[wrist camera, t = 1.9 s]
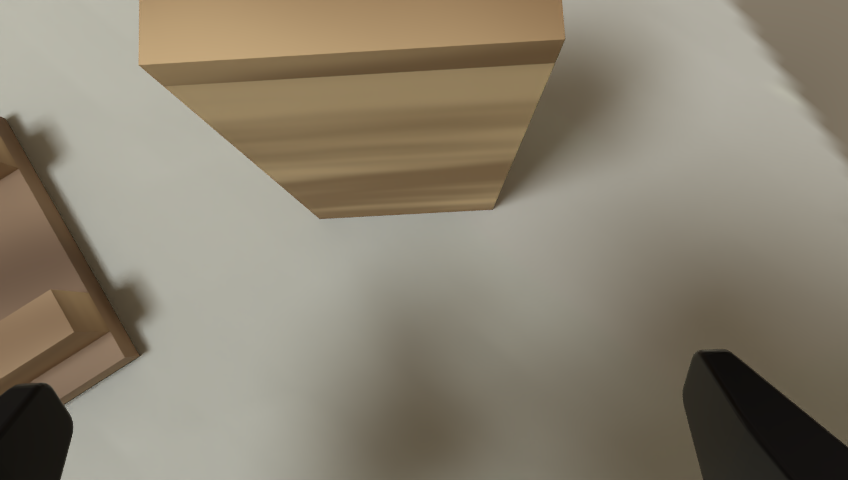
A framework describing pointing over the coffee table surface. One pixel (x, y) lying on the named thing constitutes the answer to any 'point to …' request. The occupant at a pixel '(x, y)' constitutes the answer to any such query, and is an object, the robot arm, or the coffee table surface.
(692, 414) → the robot arm
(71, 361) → the mating board
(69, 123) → the coffee table surface
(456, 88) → the wooden block
